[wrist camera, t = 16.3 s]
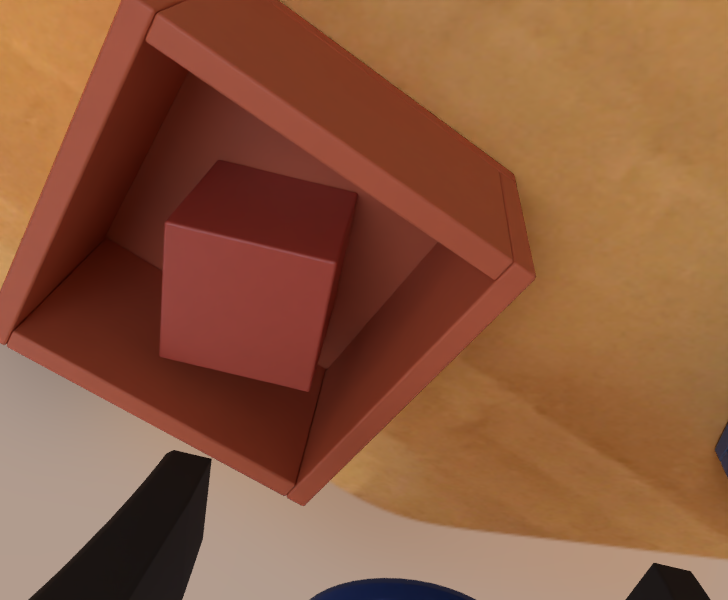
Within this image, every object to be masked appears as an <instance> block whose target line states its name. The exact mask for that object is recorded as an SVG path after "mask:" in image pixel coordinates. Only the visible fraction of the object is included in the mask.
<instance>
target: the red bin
mask: <svg viewBox="0 0 728 600" xmlns="http://www.w3.org/2000/svg"><path fill="white" fill-rule="evenodd" d="M217 160H222V161H226V162H230V163H235V164H239V165H243V166H247V167H251V168H255V169H259V170H264V171H268V172H272V173H276V174H280V175H284V176H288V177H293V178H297V179H301V180H305V181H309V182H313V183H317V184H322V185H326V186H330V187H334V188H338V189H342V190H346V191H351V192H355V193H357V194H358V199H357V204H356V208H355V213H354V217H353V222H352V226H351V231H350V235H349V240H348V244H347V249H346V254H345V258H344V263H343V267H342V272H341V276H340V281H339V285H338V290H337V295H336V299H335V304H334V308H333V312H332V315H331V319H330V322H329V326H328V329H327V333H326V337H325V340H324V344H323V347H322V351H321V354H320V358H319V361H318V365H317V368H316V372H315V376H314V379H313V383H312V386H311V389H310V391H309V392H306V391H302V390H298V389H293V388H289V387H285V386H281V385H276V384H272V383H268V382H264V381H259V380H255V379H251V378H247V377H243V376H238V375H234V374H230V373H226V372H221V371H217V370H213V369H209V368H204V367H200V366H196V365H192V364H188V363H183V362H179V361H175V360H171V359H166V358H162V357H160V355H159V348H160V323H161V298H162V272H163V247H164V223H165V221H166V220H167V218H168V217H169V216H170V215H171V214H172V213H173V211H174V210H175V209H176V208H177V207H178V206H179V204H180V203H181V202H182V201H183V200H184V199H185V197H186V196H187V195H188V194H189V193H190V192H191V190H192V189H193V188H194V187H195V186H196V185H197V184H198V182H199V181H200V180H201V179H202V178H203V177H204V175H205V174H206V173H207V172H208V171H209V170H210V168H211V167H212V166H213V165H214V164H215V163H216V161H217ZM535 278H536V274H535V269H534V265H533V260H532V255H531V251H530V246H529V241H528V237H527V232H526V228H525V223H524V218H523V214H522V209H521V204H520V200H519V195H518V190H517V186H516V181H515V176H514V174H513V173H511V172H510V171H509V170H507V169H506V168H505V167H503V166H502V165H500V164H499V163H498V162H496V161H495V160H494V159H492V158H491V157H490V156H488V155H487V154H486V153H484V152H483V151H481V150H480V149H479V148H477V147H476V146H475V145H473V144H472V143H471V142H469V141H468V140H467V139H465V138H464V137H463V136H461V135H460V134H458V133H457V132H456V131H454V130H453V129H452V128H450V127H449V126H448V125H446V124H445V123H444V122H442V121H441V120H440V119H438V118H437V117H435V116H434V115H433V114H431V113H430V112H429V111H427V110H426V109H425V108H423V107H422V106H421V105H419V104H418V103H416V102H415V101H414V100H412V99H411V98H410V97H408V96H407V95H406V94H404V93H403V92H402V91H400V90H399V89H398V88H396V87H395V86H393V85H392V84H391V83H389V82H388V81H387V80H385V79H384V78H383V77H381V76H380V75H379V74H377V73H376V72H375V71H373V70H372V69H370V68H369V67H368V66H366V65H365V64H364V63H362V62H361V61H360V60H358V59H357V58H356V57H354V56H353V55H351V54H350V53H349V52H347V51H346V50H345V49H343V48H342V47H341V46H339V45H338V44H337V43H335V42H334V41H333V40H331V39H330V38H328V37H327V36H326V35H324V34H323V33H322V32H320V31H319V30H318V29H316V28H315V27H314V26H312V25H311V24H310V23H308V22H307V21H305V20H304V19H303V18H301V17H300V16H299V15H297V14H296V13H295V12H293V11H292V10H291V9H289V8H288V7H286V6H285V5H284V4H282V3H281V2H280V1H278V0H121V2H120V5H119V7H118V10H117V12H116V14H115V17H114V19H113V22H112V24H111V26H110V29H109V31H108V34H107V36H106V38H105V41H104V43H103V46H102V48H101V50H100V53H99V55H98V58H97V60H96V62H95V65H94V67H93V70H92V72H91V74H90V77H89V79H88V82H87V84H86V86H85V89H84V91H83V94H82V96H81V98H80V101H79V103H78V106H77V108H76V110H75V113H74V115H73V118H72V120H71V122H70V125H69V127H68V130H67V132H66V134H65V137H64V139H63V142H62V144H61V147H60V149H59V151H58V154H57V156H56V159H55V161H54V163H53V166H52V168H51V171H50V173H49V175H48V178H47V180H46V183H45V185H44V187H43V190H42V192H41V195H40V197H39V199H38V202H37V204H36V207H35V209H34V211H33V214H32V216H31V219H30V221H29V223H28V226H27V228H26V231H25V233H24V235H23V238H22V240H21V243H20V245H19V247H18V250H17V252H16V255H15V257H14V259H13V262H12V264H11V267H10V269H9V271H8V274H7V276H6V279H5V281H4V283H3V286H2V288H1V291H0V343H1V344H3V345H5V344H7V347H8V348H10V349H12V350H14V351H16V352H18V353H20V354H21V355H23V356H25V357H27V358H29V359H31V360H32V361H34V362H36V363H38V364H40V365H42V366H44V367H45V368H47V369H49V370H51V371H53V372H55V373H57V374H58V375H60V376H62V377H64V378H66V379H68V380H70V381H72V382H73V383H75V384H77V385H79V386H81V387H83V388H85V389H86V390H88V391H90V392H92V393H94V394H96V395H97V396H99V397H101V398H103V399H105V400H107V401H109V402H110V403H112V404H114V405H116V406H118V407H120V408H122V409H123V410H125V411H127V412H129V413H131V414H133V415H135V416H137V417H138V418H140V419H142V420H144V421H146V422H148V423H150V424H151V425H153V426H155V427H157V428H159V429H160V430H162V431H164V432H166V433H168V434H170V435H172V436H174V437H175V438H177V439H179V440H181V441H183V442H185V443H186V444H188V445H191V446H192V447H194V448H196V449H198V450H200V451H201V452H203V453H205V454H207V455H209V456H211V457H212V458H215V459H216V460H218V461H220V462H222V463H224V464H226V465H227V466H229V467H231V468H233V469H235V470H237V471H238V472H240V473H242V474H244V475H246V476H248V477H250V478H252V479H253V480H255V481H257V482H259V483H261V484H263V485H264V486H266V487H268V488H270V489H272V490H274V491H276V492H278V493H279V494H281V495H283V496H286V495H287V498H289V499H290V500H292V501H294V502H296V503H298V504H300V505H302V506H305V505H306V503H308V502H309V500H311V499H312V498H313V497H314V496H315V495H316V494H317V493H318V492H319V491H320V490H321V489H322V488H323V487H324V486H325V485H326V484H327V483H328V482H329V481H330V480H331V479H332V478H333V477H334V476H335V475H336V474H337V473H338V472H339V471H340V470H341V469H342V468H343V467H344V466H345V465H346V464H347V463H348V462H349V461H350V460H351V459H352V458H353V457H354V456H355V455H356V454H357V453H359V452H360V451H361V450H362V449H363V448H364V447H365V446H366V445H367V444H368V443H369V442H370V441H371V440H372V439H373V438H374V437H375V436H376V435H377V434H378V433H379V432H380V431H381V430H382V429H383V428H384V427H385V426H386V425H387V424H388V423H389V422H390V421H391V420H392V419H393V418H394V417H395V416H396V415H397V414H398V413H399V412H400V411H401V410H402V409H403V408H404V407H405V406H406V405H407V404H408V403H409V402H410V401H411V400H412V399H413V398H415V397H416V396H417V395H418V394H419V393H420V392H421V391H422V390H423V389H424V388H425V387H426V386H427V385H428V384H429V383H430V382H431V381H432V380H433V379H434V378H435V377H436V376H437V375H438V374H439V373H440V372H441V371H442V370H443V369H444V368H445V367H446V366H447V365H448V364H449V363H450V362H451V361H452V360H453V359H454V358H455V357H456V356H457V355H458V354H459V353H460V352H461V351H462V350H463V349H464V348H465V347H466V346H467V345H468V344H469V343H470V342H472V341H473V340H474V339H475V338H476V337H477V336H478V335H479V334H480V333H481V332H482V331H483V330H484V329H485V328H486V327H487V326H488V325H489V324H490V323H491V322H492V321H493V320H494V319H495V318H496V317H497V316H498V315H499V314H500V313H501V312H502V311H503V310H504V309H505V308H506V307H507V306H508V305H509V304H510V303H511V302H512V301H513V300H514V299H515V298H516V297H517V296H518V295H519V294H520V293H521V292H522V291H523V290H524V289H525V288H526V287H528V286H529V285H530V284H531V283H532V282H533V281H534V280H535Z"/></svg>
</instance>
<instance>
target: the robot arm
mask: <svg viewBox="0 0 728 600" xmlns="http://www.w3.org/2000/svg"><path fill="white" fill-rule="evenodd" d="M210 467H211V459H210V458H206V457H201V456H197V455H192V454H188V453H184V452H180V451H175V450H173V451H171V452H169V453H167V454H166V455H165V456H164V457H163V459H162V460H161V461H160V462H159V464H158V465H157V466H156V468H155V469H154V470H153V471H152V472H151V474H150V475H149V476H148V477H147V478H146V480H145V481H144V482H143V483H142V484H141V486H140V487H139V488H138V489H137V490H136V491H135V493H134V494H133V495H132V496H131V497H130V498H129V499H128V500H127V501H126V502H125V504H124V505H123V506H122V507H121V508H120V509H119V510H118V511H117V512H116V514H115V515H114V516H113V517H112V518H111V519H110V520H109V521H108V522H107V523H106V524H105V525H104V526H103V527H102V528H101V529H100V530H99V531H98V532H97V533H96V534H95V536H93V537H92V539H91V540H90V541H89V542H88V543H87V544H86V545H85V546H84V547H83V548H82V549H81V550H80V551H79V552H78V553H77V554H76V555H75V556H74V557H73V558H72V559H71V560H70V561H69V562H68V563H67V564H66V565H65V566H64V567H63V568H62V569H61V570H60V571H59V572H58V573H57V574H56V575H55V576H54V577H52V578H51V579H50V580H49V581H48V582H47V583H46V584H45V585H44V586H43V587H42V588H41V589H39V590H38V591H37V592H36V593H35V594H34V595H33V596H32V597H31V598H30V599H29V600H182V598H183V596H184V593H185V590H186V587H187V584H188V581H189V578H190V575H191V572H192V569H193V566H194V563H195V560H196V558H197V555H198V552H199V548H200V546H201V543H202V540H203V532H204V523H205V514H206V504H207V495H208V487H209V477H210ZM626 600H710V598H709V597H708V595H707V594H706V592H705V591H704V589H703V588H702V587H701V585H700V584H699V582H698V581H697V579H696V578H695V577H694V575H693V574H692V573H691V571H687V570H683V569H678V568H674V567H670V566H665V565H661V564H657V563H653V564H652V566H651V567H650V568H649V570H648V571H647V572H646V574H645V575H644V576H643V578H642V579H641V580H640V581H639V583H638V584H637V585H636V587H635V588H634V589H633V591H632V592H631V593H630V595H629V596H628V597H627V599H626Z"/></svg>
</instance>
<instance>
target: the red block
mask: <svg viewBox="0 0 728 600" xmlns="http://www.w3.org/2000/svg"><path fill="white" fill-rule="evenodd" d="M357 199H358V194H357V193H355V192H351V191H346V190H342V189H338V188H334V187H330V186H326V185H322V184H317V183H313V182H309V181H305V180H301V179H297V178H293V177H288V176H284V175H280V174H276V173H272V172H268V171H264V170H259V169H255V168H251V167H247V166H243V165H239V164H235V163H230V162H226V161H222V160H217V161H216V163H215V164H214V165H213V166H212V167H211V168H210V170H209V171H208V172H207V173H206V174H205V175H204V177H203V178H202V179H201V180H200V181H199V182H198V184H197V185H196V186H195V187H194V188H193V189H192V190H191V192H190V193H189V194H188V195H187V196H186V197H185V199H184V200H183V201H182V202H181V203H180V204H179V206H178V207H177V208H176V209H175V210H174V211H173V213H172V214H171V215H170V216H169V217H168V218H167V220H166V221H165V223H164V247H163V272H162V298H161V323H160V348H159V355H160V357H162V358H166V359H171V360H175V361H179V362H183V363H188V364H192V365H196V366H200V367H204V368H209V369H213V370H217V371H221V372H226V373H230V374H234V375H238V376H243V377H247V378H251V379H255V380H259V381H264V382H268V383H272V384H276V385H281V386H285V387H289V388H293V389H298V390H302V391H306V392H309V391H310V389H311V386H312V383H313V379H314V376H315V372H316V368H317V365H318V361H319V358H320V354H321V351H322V347H323V344H324V340H325V337H326V333H327V329H328V326H329V322H330V319H331V315H332V312H333V308H334V304H335V299H336V295H337V290H338V285H339V281H340V276H341V272H342V267H343V263H344V258H345V254H346V249H347V244H348V240H349V235H350V231H351V226H352V222H353V217H354V213H355V208H356V204H357Z"/></svg>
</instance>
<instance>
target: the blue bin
mask: <svg viewBox="0 0 728 600" xmlns="http://www.w3.org/2000/svg"><path fill="white" fill-rule="evenodd" d="M715 452H716V454H717V456H718V458H719V460H720V461H721V464H722V467H723V469H724V471H725V473H726V475H727V477H728V424H727V426H726V428H725V430H724V432H723V434H722V436H721V438H720V440H719V442H718V444H717V446H716V448H715Z"/></svg>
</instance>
